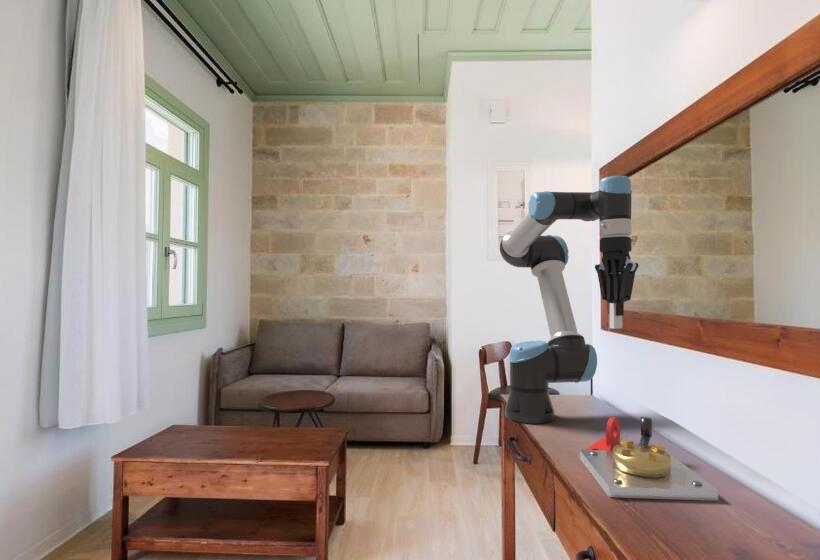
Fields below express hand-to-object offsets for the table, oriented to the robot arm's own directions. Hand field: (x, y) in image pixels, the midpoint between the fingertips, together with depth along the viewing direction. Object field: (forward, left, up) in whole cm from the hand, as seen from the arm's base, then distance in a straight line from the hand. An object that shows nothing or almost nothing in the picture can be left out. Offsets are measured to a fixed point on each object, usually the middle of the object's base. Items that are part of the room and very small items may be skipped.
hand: (616, 328), depth 117 cm
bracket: (+4, -5, -30) cm, 31 cm away
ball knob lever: (+16, 0, -28) cm, 32 cm away
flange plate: (+20, -2, -30) cm, 36 cm away
